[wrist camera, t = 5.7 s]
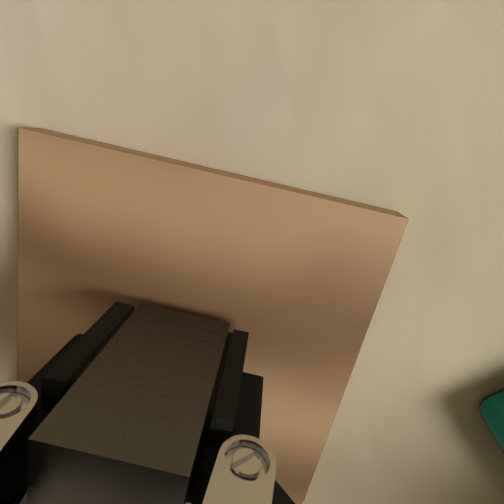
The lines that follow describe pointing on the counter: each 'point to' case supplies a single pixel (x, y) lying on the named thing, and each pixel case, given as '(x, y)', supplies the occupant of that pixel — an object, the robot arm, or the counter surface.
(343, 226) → the base
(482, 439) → the counter surface
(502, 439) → the digital multimeter
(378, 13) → the counter surface
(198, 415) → the plunger
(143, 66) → the counter surface
